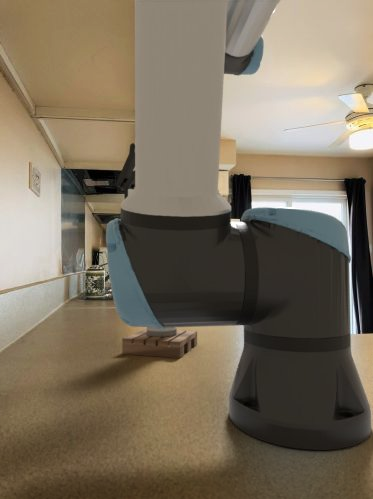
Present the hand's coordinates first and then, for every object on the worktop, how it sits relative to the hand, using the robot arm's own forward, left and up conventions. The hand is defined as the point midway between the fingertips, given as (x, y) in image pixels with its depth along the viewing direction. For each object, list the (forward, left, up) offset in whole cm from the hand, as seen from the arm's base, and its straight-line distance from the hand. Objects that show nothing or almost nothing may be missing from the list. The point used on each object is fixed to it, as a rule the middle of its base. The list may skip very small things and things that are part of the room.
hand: (161, 218), depth 77 cm
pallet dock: (0, 0, -27) cm, 27 cm away
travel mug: (0, 0, -24) cm, 24 cm away
